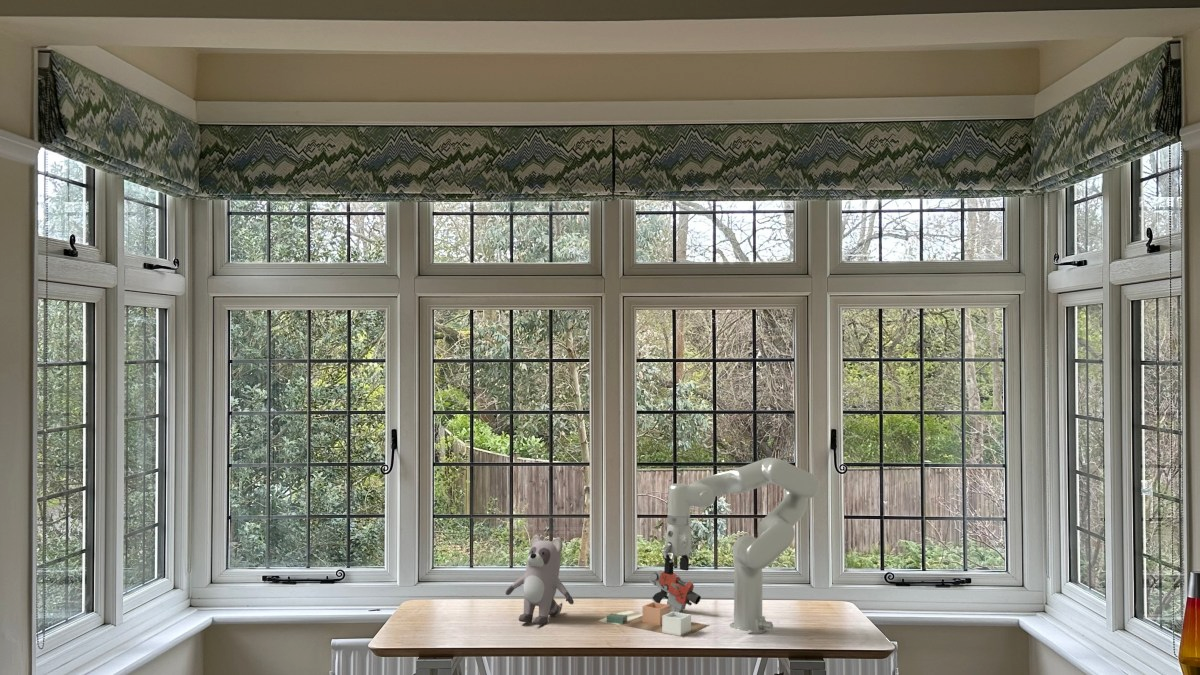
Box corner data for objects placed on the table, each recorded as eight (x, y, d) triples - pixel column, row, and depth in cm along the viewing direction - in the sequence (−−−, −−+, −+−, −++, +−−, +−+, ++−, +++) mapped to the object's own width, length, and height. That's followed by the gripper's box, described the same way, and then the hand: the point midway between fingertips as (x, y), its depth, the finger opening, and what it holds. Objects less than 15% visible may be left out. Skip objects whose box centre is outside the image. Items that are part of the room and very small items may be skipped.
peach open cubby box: (670, 621, 328) (670, 605, 329) (659, 625, 323) (660, 609, 323) (652, 617, 332) (652, 602, 333) (642, 622, 327) (642, 606, 327)
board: (709, 628, 324) (709, 625, 324) (683, 641, 309) (683, 637, 309) (625, 613, 343) (625, 609, 343) (597, 624, 328) (597, 620, 328)
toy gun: (686, 627, 336) (698, 589, 334) (642, 600, 348) (653, 563, 346) (692, 625, 339) (704, 587, 337) (648, 598, 351) (659, 561, 349)
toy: (514, 632, 317) (514, 545, 317) (504, 615, 338) (504, 534, 338) (574, 627, 323) (574, 542, 323) (560, 611, 343) (560, 530, 343)
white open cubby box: (691, 631, 316) (691, 614, 316) (680, 636, 310) (680, 619, 310) (672, 627, 320) (672, 611, 320) (662, 632, 314) (662, 615, 314)
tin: (627, 621, 328) (627, 615, 328) (622, 623, 324) (622, 618, 324) (611, 619, 330) (611, 613, 330) (606, 621, 326) (606, 616, 327)
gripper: (674, 524, 311) (672, 577, 310) (701, 519, 325) (699, 570, 324) (655, 521, 315) (653, 573, 315) (682, 517, 329) (680, 566, 329)
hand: (676, 571), depth 319 cm, fingers open, 9 cm apart
